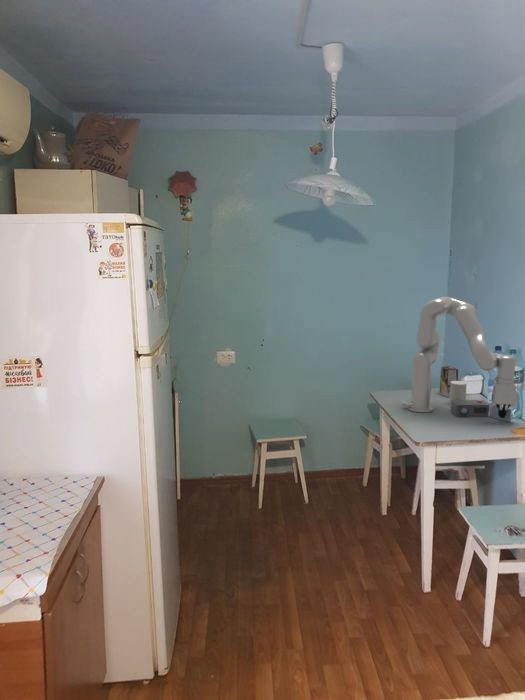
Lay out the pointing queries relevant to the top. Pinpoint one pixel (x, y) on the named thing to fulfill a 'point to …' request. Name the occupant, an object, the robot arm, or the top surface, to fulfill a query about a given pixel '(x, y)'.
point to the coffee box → (447, 379)
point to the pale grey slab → (494, 413)
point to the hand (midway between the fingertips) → (501, 417)
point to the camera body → (470, 408)
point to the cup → (457, 390)
